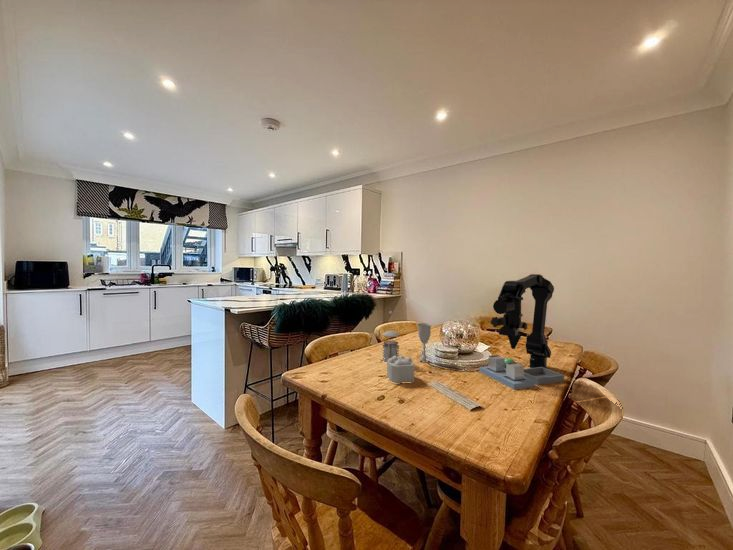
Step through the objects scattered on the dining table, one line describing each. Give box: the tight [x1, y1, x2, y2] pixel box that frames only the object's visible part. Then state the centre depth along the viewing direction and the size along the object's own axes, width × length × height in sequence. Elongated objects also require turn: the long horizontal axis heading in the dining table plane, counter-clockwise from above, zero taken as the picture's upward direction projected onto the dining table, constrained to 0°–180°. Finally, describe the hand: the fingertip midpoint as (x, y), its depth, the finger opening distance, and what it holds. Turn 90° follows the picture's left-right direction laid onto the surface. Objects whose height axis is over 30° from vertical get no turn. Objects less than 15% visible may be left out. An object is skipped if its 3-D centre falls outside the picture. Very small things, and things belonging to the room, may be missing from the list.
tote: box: [524, 367, 565, 386], centre depth 125 cm, size 14×11×3 cm
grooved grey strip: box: [427, 380, 484, 412], centre depth 110 cm, size 24×7×2 cm, turn 24°
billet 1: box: [488, 354, 506, 373], centre depth 130 cm, size 4×4×8 cm
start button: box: [504, 357, 515, 364], centre depth 138 cm, size 4×4×3 cm
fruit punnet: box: [386, 354, 415, 383], centre depth 126 cm, size 10×13×9 cm
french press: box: [382, 310, 400, 362], centre depth 146 cm, size 10×12×25 cm
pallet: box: [478, 365, 536, 390], centre depth 125 cm, size 10×20×2 cm, turn 17°
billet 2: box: [506, 361, 525, 382], centre depth 120 cm, size 4×4×8 cm
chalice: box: [417, 322, 432, 361], centre depth 149 cm, size 7×7×18 cm
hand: (513, 348), depth 126 cm, fingers closed
